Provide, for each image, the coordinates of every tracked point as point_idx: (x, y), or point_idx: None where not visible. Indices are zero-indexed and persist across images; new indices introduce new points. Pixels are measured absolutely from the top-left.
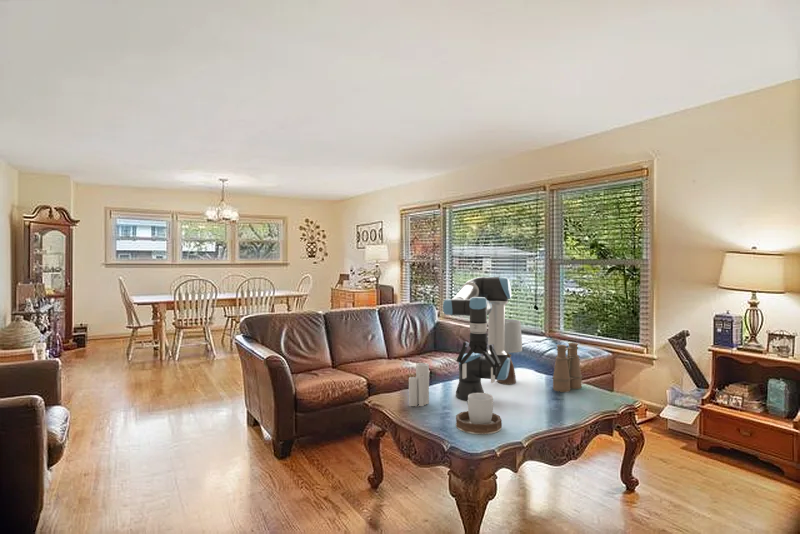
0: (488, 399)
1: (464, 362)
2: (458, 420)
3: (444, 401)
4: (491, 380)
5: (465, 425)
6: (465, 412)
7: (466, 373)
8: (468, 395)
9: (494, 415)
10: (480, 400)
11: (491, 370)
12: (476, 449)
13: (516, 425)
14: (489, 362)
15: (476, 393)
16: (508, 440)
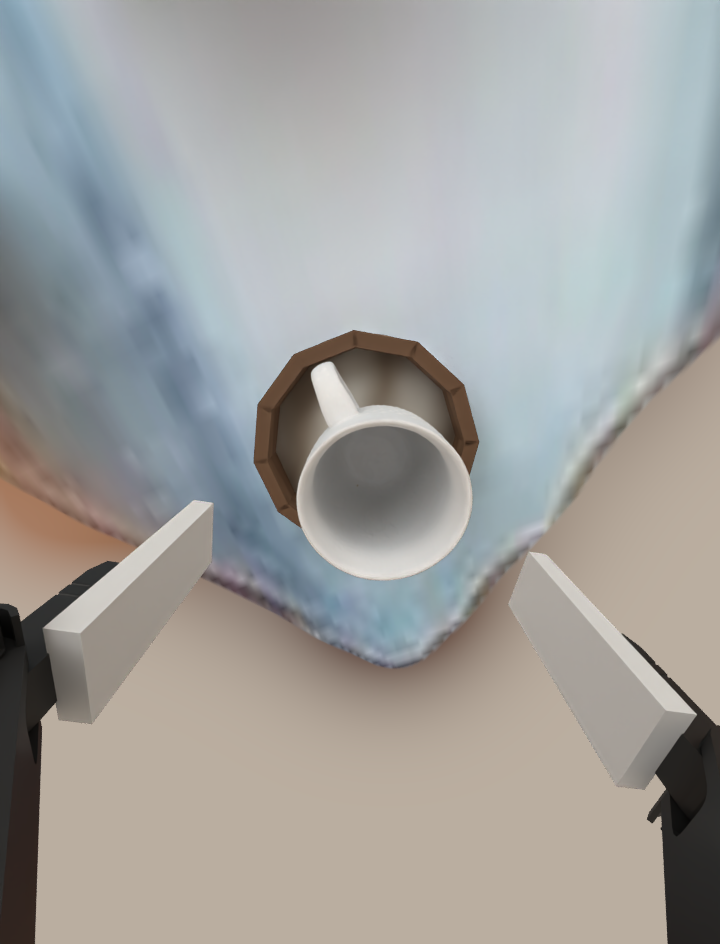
0: (449, 552)
1: (25, 645)
2: (289, 518)
3: (19, 54)
4: (525, 624)
5: None
6: (280, 399)
7: (190, 524)
8: (301, 518)
9: (434, 378)
10: (401, 577)
11: (597, 740)
12: (408, 641)
13: (531, 364)
14: (671, 924)
15: (336, 438)
16: (502, 543)
